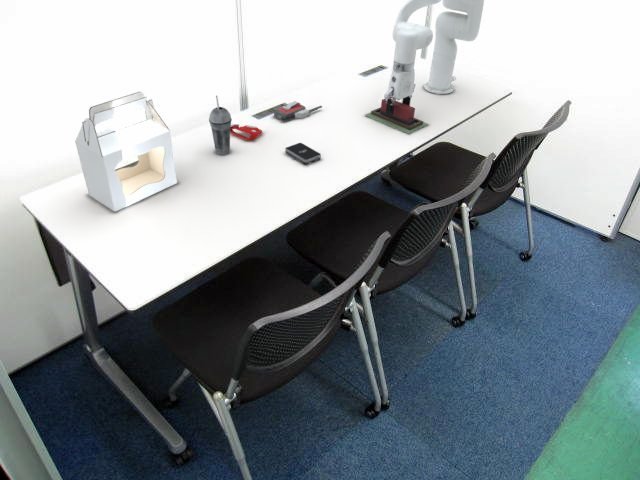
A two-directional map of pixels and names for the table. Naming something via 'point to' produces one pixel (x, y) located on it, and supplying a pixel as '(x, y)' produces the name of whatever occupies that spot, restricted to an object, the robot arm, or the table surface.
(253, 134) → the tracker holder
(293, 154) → the external hard drive
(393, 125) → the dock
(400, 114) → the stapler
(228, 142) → the beverage cup
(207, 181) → the table surface
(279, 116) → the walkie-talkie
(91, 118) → the gable box
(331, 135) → the table surface
